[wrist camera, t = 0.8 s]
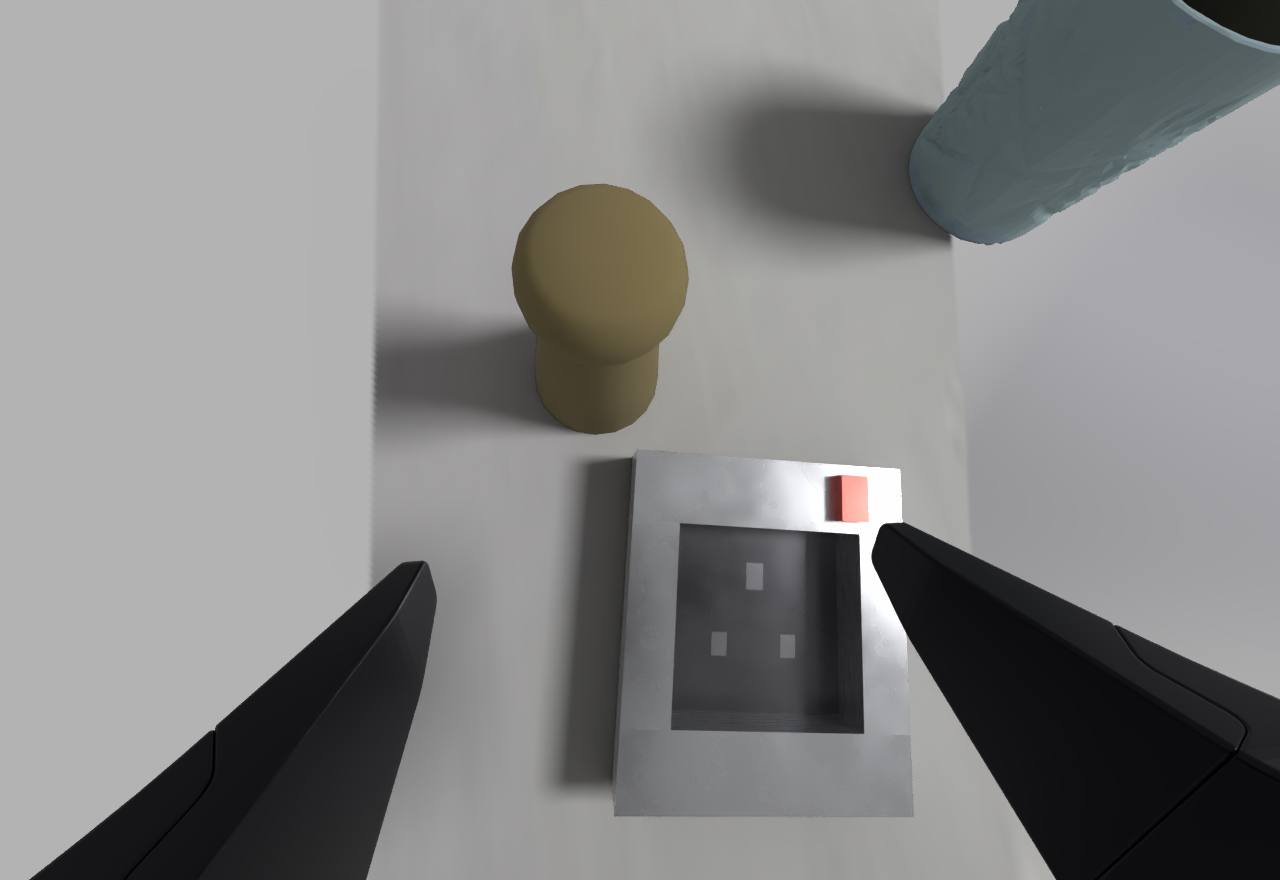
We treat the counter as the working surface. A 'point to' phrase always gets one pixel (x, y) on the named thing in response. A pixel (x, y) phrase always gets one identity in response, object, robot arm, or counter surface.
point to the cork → (598, 302)
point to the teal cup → (1084, 104)
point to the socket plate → (759, 643)
